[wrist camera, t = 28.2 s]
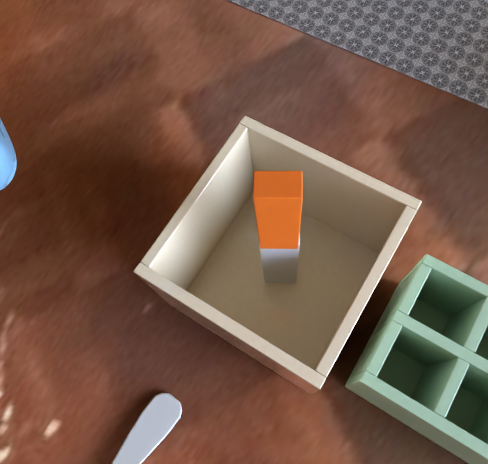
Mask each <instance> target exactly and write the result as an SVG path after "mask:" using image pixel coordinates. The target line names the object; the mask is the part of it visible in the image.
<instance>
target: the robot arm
mask: <svg viewBox="0 0 488 464" xmlns="http://www.w3.org/2000/svg"><path fill="white" fill-rule="evenodd" d="M16 166H17V160H16V154H15V151H14V147H13V145H12V142H11V140H10V137H9V135H8V133H7V131H6V129H5V127H4V125H3V123H2V121H1V119H0V190H2V189H4V188H5V187H6V186H7V185H8V184H9V183H10V182H11V180H12V179H13V177H14V174H15V171H16Z"/></svg>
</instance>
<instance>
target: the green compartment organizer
mask: <svg viewBox="0 0 488 464" xmlns="http://www.w3.org/2000/svg"><path fill="white" fill-rule="evenodd" d="M345 387H346V388H347V389H349V390H351V391H352V392H354V393H356V394H357V395H359V396H360V397H362V398H364V399H365V400H367V401H368V402H370V403H372V404H373V405H375V406H377V407H378V408H380V409H381V410H383V411H385V412H386V413H388V414H389V415H391V416H393V417H394V418H396V419H398V420H399V421H401V422H402V423H404V424H406V425H407V426H409V427H410V428H412V429H414V430H415V431H417V432H418V433H420V434H422V435H423V436H425V437H427V438H428V439H430V440H431V441H433V442H435V443H436V444H438V445H439V446H441V447H443V448H444V449H446V450H448V451H449V452H451V453H452V454H454V455H456V456H457V457H459V458H460V459H462V460H464V461H465V462H467V463H469V464H488V285H486V284H484V283H482V282H480V281H478V280H476V279H474V278H473V277H471V276H469V275H467V274H465V273H463V272H461V271H459V270H457V269H455V268H453V267H451V266H449V265H447V264H445V263H443V262H441V261H439V260H437V259H436V258H434V257H432V256H430V255H428V254H426V255H425V256H424V257H423V258H422V259H421V260H420V261H419V262H418V263H417V264H416V265H415V267H414V268H413V269H412V270H411V271H410V272H409V273H408V274H407V275H406V276H405V277H404V278H403V279H402V280H401V281H400V283H399V284H398V286H397V288H396V289H395V291H394V293H393V295H392V297H391V299H390V301H389V303H388V305H387V307H386V308H385V310H384V312H383V314H382V316H381V318H380V320H379V322H378V324H377V325H376V327H375V329H374V331H373V333H372V335H371V337H370V339H369V341H368V342H367V344H366V346H365V348H364V350H363V352H362V354H361V356H360V358H359V360H358V361H357V363H356V365H355V367H354V369H353V371H352V373H351V375H350V377H349V378H348V380H347V382H346V384H345Z"/></svg>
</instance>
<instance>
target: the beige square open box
mask: <svg viewBox="0 0 488 464" xmlns="http://www.w3.org/2000/svg"><path fill="white" fill-rule="evenodd" d="M254 171H302V172H303V201H302V212H301V223H300V247H299V257H298V267H297V277H296V283H266V282H265V281H264V275H263V268H262V262H261V255H260V248H259V236H258V229H257V222H256V216H255V209H254V202H253V178H254ZM421 203H422V201H420V200H418V199H416V198H414V197H412V196H410V195H408V194H406V193H404V192H402V191H400V190H398V189H395V188H393V187H391V186H389V185H387V184H385V183H383V182H381V181H379V180H377V179H375V178H373V177H371V176H369V175H367V174H364V173H362V172H360V171H358V170H356V169H354V168H352V167H350V166H348V165H346V164H344V163H342V162H340V161H338V160H336V159H333V158H331V157H329V156H327V155H325V154H323V153H321V152H319V151H317V150H315V149H313V148H311V147H309V146H307V145H305V144H302V143H300V142H298V141H296V140H294V139H292V138H290V137H288V136H286V135H284V134H282V133H280V132H278V131H276V130H274V129H271V128H269V127H267V126H265V125H263V124H261V123H259V122H257V121H255V120H253V119H251V118H249V117H247V116H244V117H243V119H242V120H241V122H240V124H238V126H237V127H236V129H235V130H234V131H233V133H232V134H231V136H230V137H229V138H228V140H227V141H226V143H225V144H224V145H223V147H222V148H221V150H220V151H219V152H218V154H217V155H216V157H215V158H214V159H213V161H212V162H211V164H210V165H209V166H208V168H207V169H206V171H205V172H204V173H203V175H202V176H201V178H200V179H199V180H198V182H197V183H196V185H195V186H194V187H193V189H192V190H191V192H190V193H189V194H188V196H187V197H186V199H185V200H184V201H183V203H182V204H181V206H180V207H179V208H178V210H177V211H176V213H175V214H174V215H173V217H172V218H171V220H170V221H169V222H168V224H167V225H166V227H165V228H164V230H163V231H162V232H161V234H160V235H159V237H158V238H157V239H156V241H155V242H154V244H153V245H152V246H151V248H150V249H149V251H148V252H147V253H146V255H145V256H144V258H143V259H142V260H141V263H139V264H138V266H137V267H136V268H135V270H134V273H135V274H136V275H137V276H138V277H140V278H141V279H142V280H143V281H144V282H145V283H146V284H147V285H149V286H150V287H151V288H152V289H153V290H154V291H155V292H156V293H157V294H159V295H160V296H161V297H162V298H163V299H164V300H165V301H166V302H167V303H169V304H170V305H171V306H172V307H174V308H175V309H177V310H178V311H180V312H182V313H183V314H185V315H186V316H188V317H189V318H191V319H193V320H194V321H196V322H197V323H199V324H200V325H202V326H204V327H205V328H207V329H208V330H210V331H211V332H213V333H215V334H216V335H218V336H219V337H221V338H222V339H224V340H226V341H227V342H229V343H230V344H232V345H233V346H235V347H237V348H238V349H240V350H241V351H243V352H244V353H246V354H248V355H249V356H251V357H252V358H254V359H255V360H257V361H258V362H260V363H262V364H263V365H265V366H266V367H268V368H269V369H271V370H273V371H274V372H276V373H277V374H279V375H280V376H282V377H284V378H285V379H287V380H288V381H290V382H291V383H293V384H295V385H296V386H298V387H299V388H301V389H302V390H304V391H306V392H307V393H309V394H311V393H313V392H315V391H317V390H319V389H321V387H322V385H323V383H324V381H325V380H326V377H327V376H328V374H329V372H330V370H331V369H332V367H333V365H334V363H335V361H336V359H337V357H338V356H339V354H340V352H341V350H342V348H343V346H344V345H345V343H346V341H347V339H348V337H349V335H350V334H351V332H352V330H353V328H354V326H355V324H356V322H357V321H358V319H359V317H360V315H361V313H362V311H363V310H364V308H365V306H366V304H367V302H368V300H369V299H370V297H371V295H372V293H373V291H374V289H375V287H376V286H377V284H378V282H379V280H380V278H381V276H382V275H383V273H384V271H385V269H386V267H387V265H388V263H389V262H390V260H391V258H392V256H393V254H394V252H395V251H396V249H397V247H398V245H399V243H400V241H401V240H402V238H403V236H404V234H405V232H406V230H407V228H408V227H409V225H410V223H411V221H412V219H413V217H414V216H415V214H416V212H417V210H418V208H419V206H420V205H421Z"/></svg>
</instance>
